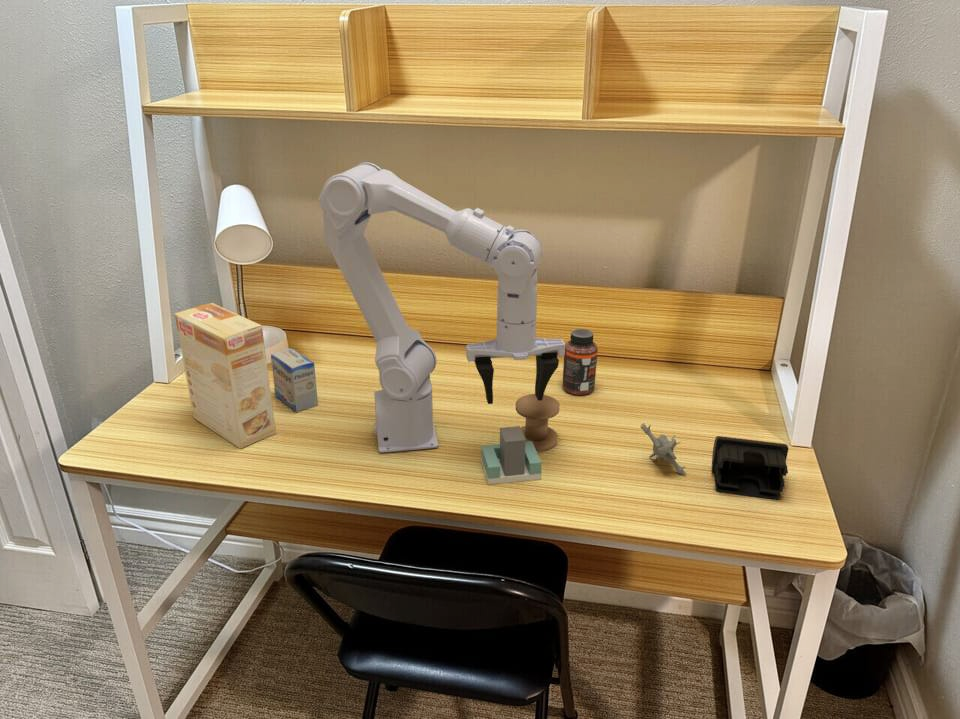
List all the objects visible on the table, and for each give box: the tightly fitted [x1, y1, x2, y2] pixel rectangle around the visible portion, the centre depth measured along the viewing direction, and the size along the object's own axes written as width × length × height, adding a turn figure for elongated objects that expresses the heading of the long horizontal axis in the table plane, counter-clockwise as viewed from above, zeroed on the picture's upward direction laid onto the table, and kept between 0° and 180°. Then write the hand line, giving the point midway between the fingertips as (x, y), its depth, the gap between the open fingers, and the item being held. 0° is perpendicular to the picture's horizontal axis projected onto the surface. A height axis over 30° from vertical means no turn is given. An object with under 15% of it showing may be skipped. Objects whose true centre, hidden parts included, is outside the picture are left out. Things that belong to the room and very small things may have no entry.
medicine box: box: [270, 347, 319, 413], centre depth 133 cm, size 8×4×9 cm, turn 42°
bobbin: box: [515, 393, 560, 452], centre depth 122 cm, size 7×7×7 cm
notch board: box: [480, 441, 543, 485], centre depth 114 cm, size 8×6×3 cm
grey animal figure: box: [640, 422, 687, 477], centre depth 117 cm, size 10×6×9 cm
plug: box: [499, 425, 526, 476], centre depth 113 cm, size 3×4×6 cm
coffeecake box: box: [174, 302, 277, 450], centre depth 123 cm, size 15×7×20 cm, turn 48°
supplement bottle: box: [562, 328, 599, 396], centre depth 137 cm, size 6×6×11 cm
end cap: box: [711, 435, 789, 501], centre depth 111 cm, size 10×7×7 cm
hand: (514, 399), depth 115 cm, fingers open, 7 cm apart
